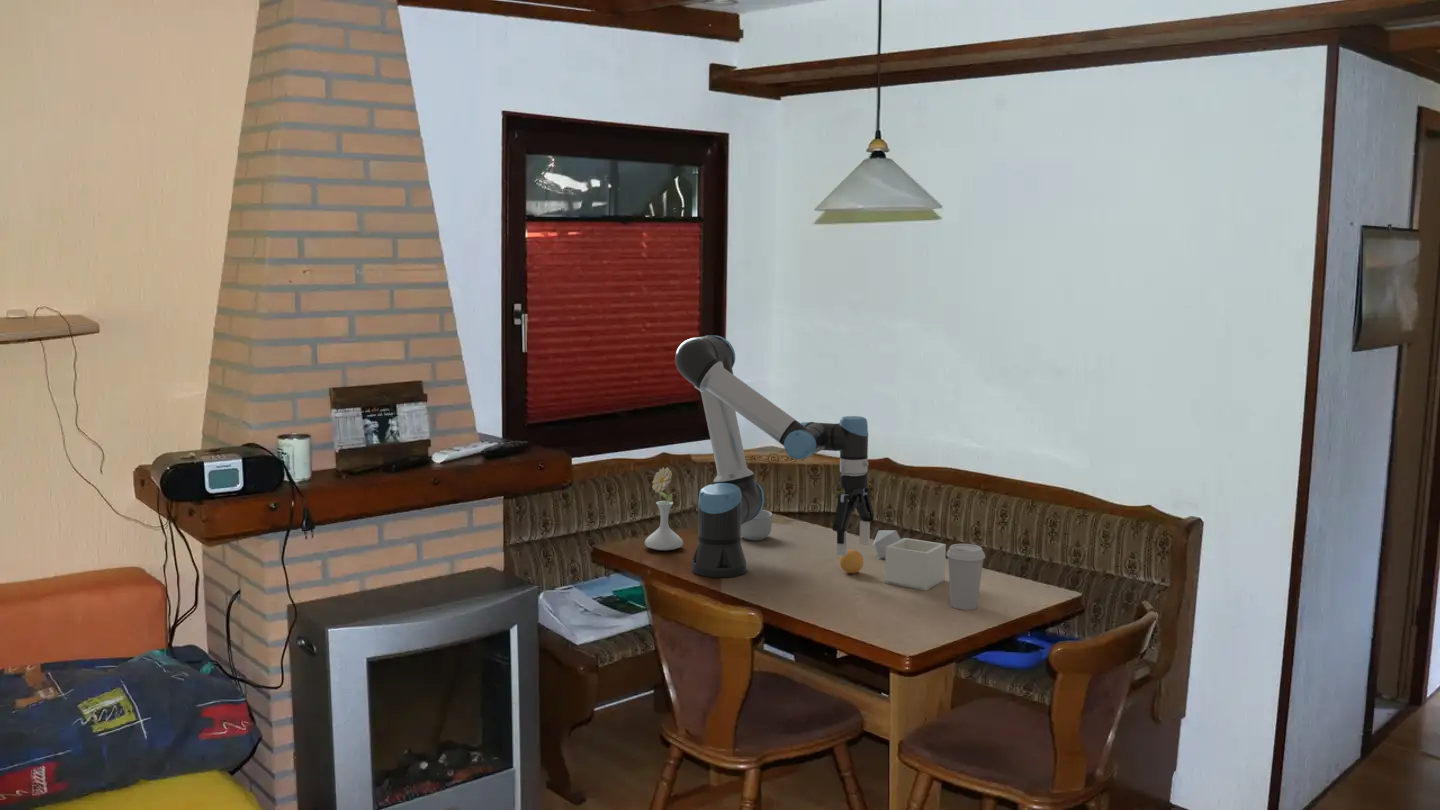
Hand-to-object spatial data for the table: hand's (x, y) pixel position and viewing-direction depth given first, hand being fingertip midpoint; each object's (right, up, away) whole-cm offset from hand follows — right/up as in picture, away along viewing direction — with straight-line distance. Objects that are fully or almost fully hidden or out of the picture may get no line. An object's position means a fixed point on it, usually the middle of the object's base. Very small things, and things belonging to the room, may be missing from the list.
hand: (853, 549), depth 321 cm
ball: (-1, -7, +1) cm, 7 cm away
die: (+12, -5, +18) cm, 22 cm away
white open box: (+16, -8, -7) cm, 19 cm away
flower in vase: (-53, -3, +24) cm, 59 cm away
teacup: (-27, -1, +40) cm, 48 cm away
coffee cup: (+24, -11, -28) cm, 39 cm away
